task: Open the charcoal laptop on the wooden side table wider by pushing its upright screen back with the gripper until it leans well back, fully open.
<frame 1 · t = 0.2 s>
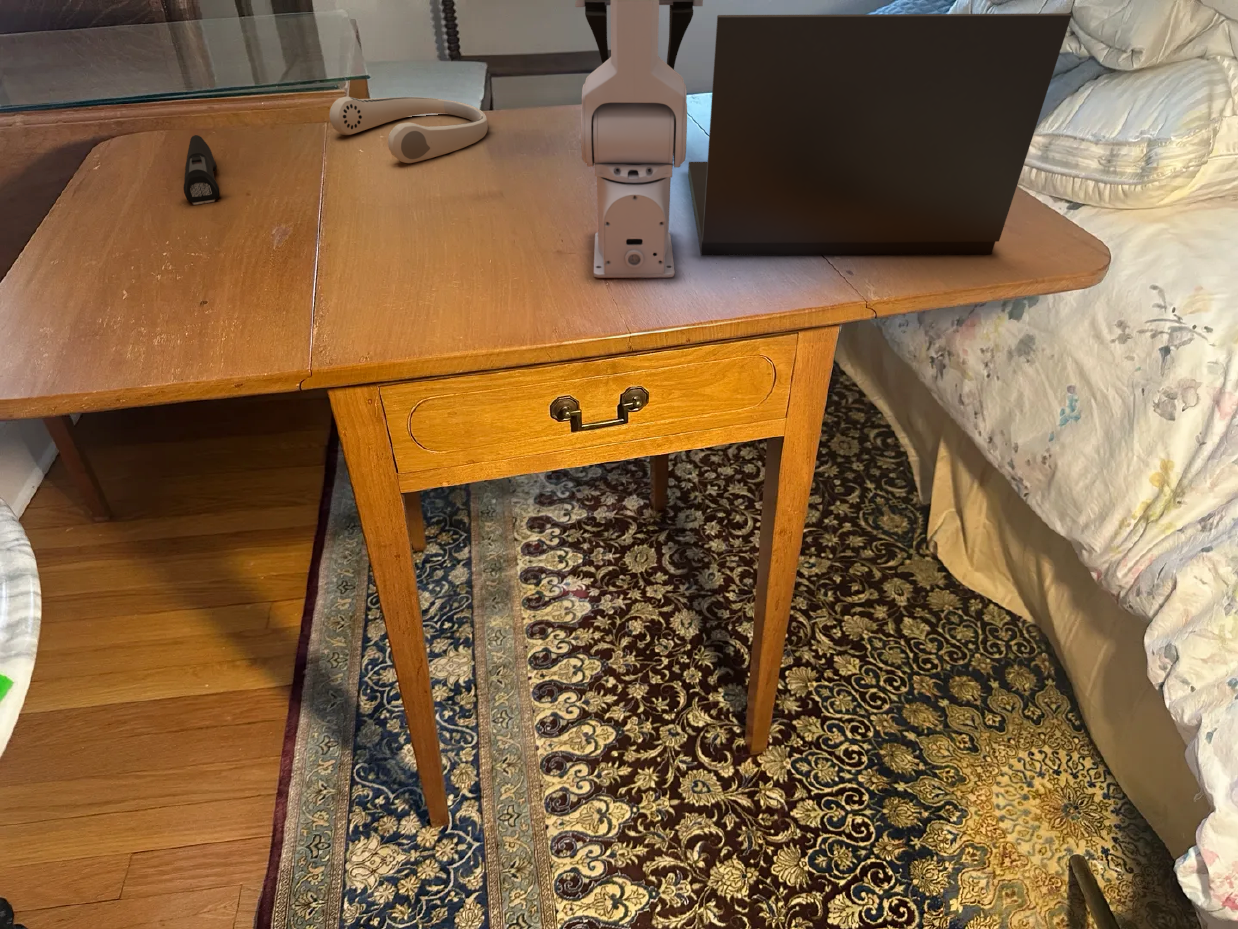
hand: (638, 71, 104), 10 cm above the table, tool pointing down, fingers open, 7 cm apart
beige neck fan: (421, 136, 116), on the table
laptop: (827, 211, 97), on the table
electric trimmer: (202, 181, 105), on the table
laptop screen: (870, 137, 80), point 12 cm above the table, hinge at 92.0°
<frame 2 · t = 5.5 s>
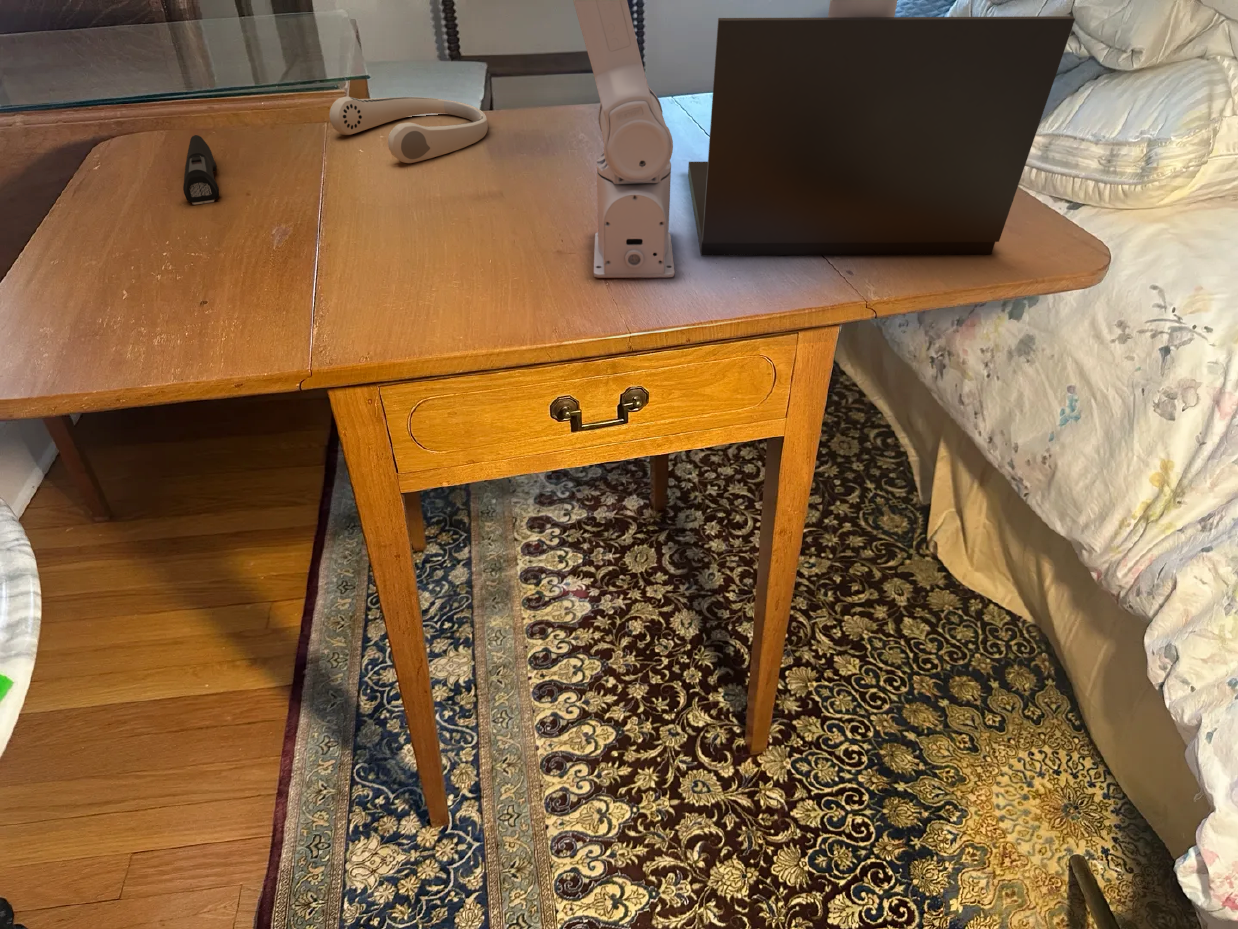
hand: (832, 187, 86), 6 cm above the table, tool pointing down, fingers closed, pressing on laptop screen
laptop screen: (871, 139, 80), point 12 cm above the table, hinge at 94.2°, touching gripper
everything else where it was.
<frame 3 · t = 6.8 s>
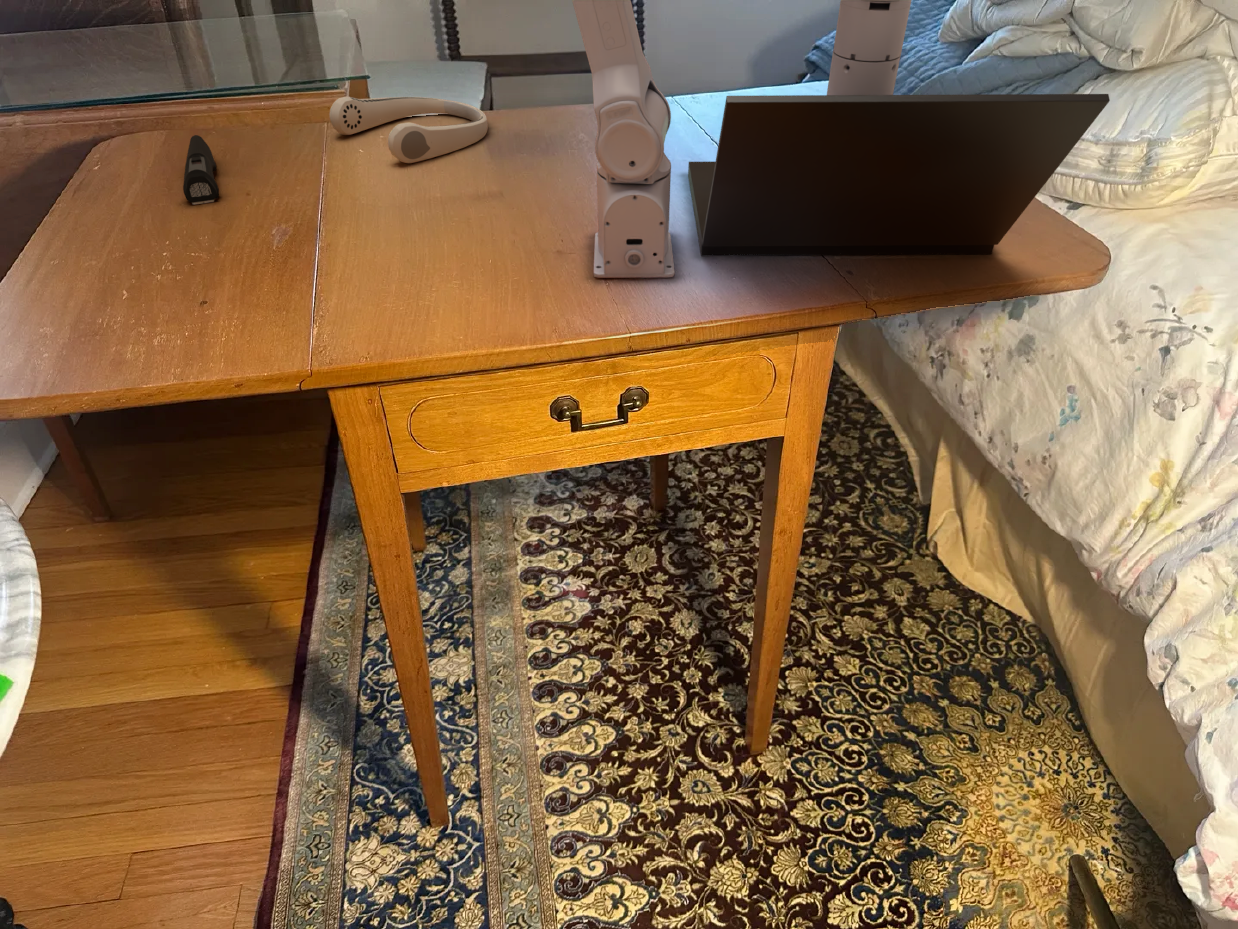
hand: (840, 203, 83), 6 cm above the table, tool pointing down, fingers closed, pressing on laptop screen
laptop screen: (879, 179, 77), point 10 cm above the table, hinge at 122.6°, touching gripper
everything else where it was.
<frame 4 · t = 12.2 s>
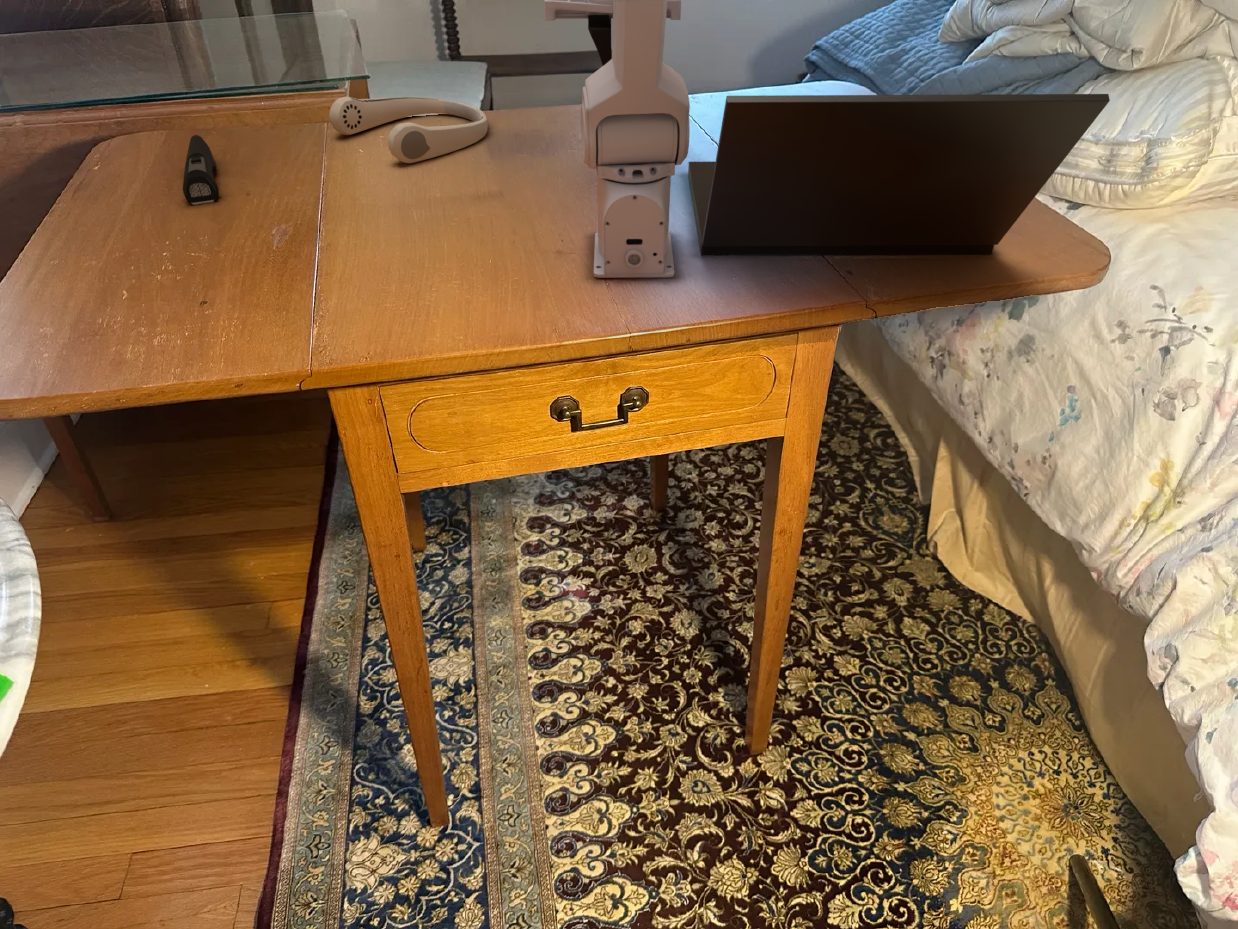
hand: (613, 88, 98), 10 cm above the table, tool pointing down, fingers closed
laptop screen: (879, 179, 77), point 10 cm above the table, hinge at 122.6°
everything else where it was.
at the end: laptop screen at +123° (first picture: +92°) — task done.
